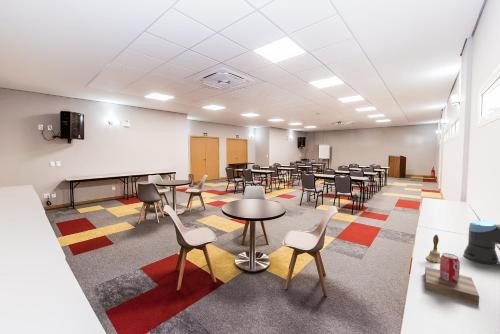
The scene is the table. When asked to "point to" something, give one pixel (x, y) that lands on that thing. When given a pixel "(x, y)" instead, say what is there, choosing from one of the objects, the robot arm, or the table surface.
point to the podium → (451, 286)
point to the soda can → (449, 267)
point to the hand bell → (434, 251)
